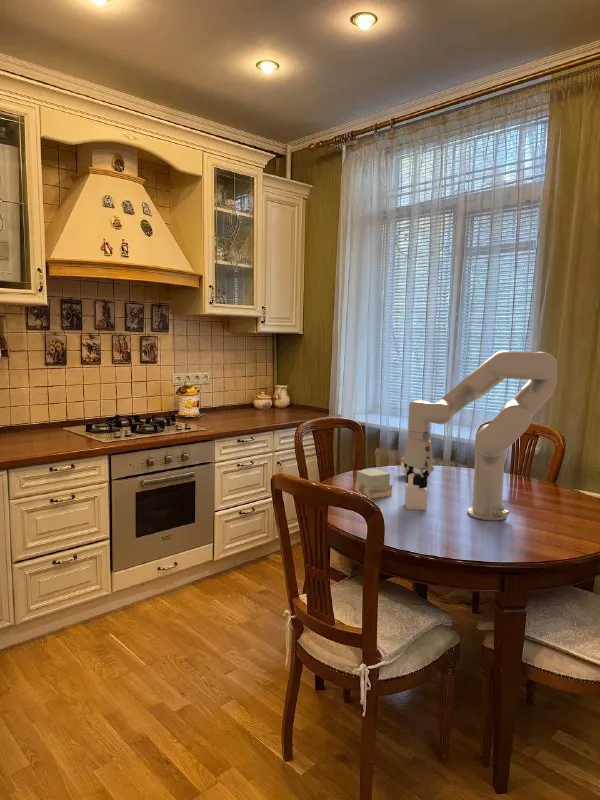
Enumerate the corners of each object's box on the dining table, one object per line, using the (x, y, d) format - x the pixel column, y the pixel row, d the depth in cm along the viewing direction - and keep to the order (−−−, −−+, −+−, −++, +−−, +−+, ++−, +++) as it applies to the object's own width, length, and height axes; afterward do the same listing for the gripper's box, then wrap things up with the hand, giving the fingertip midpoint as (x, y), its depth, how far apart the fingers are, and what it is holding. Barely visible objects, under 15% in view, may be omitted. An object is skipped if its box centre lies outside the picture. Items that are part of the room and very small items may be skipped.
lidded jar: (409, 472, 250) (409, 451, 249) (429, 476, 242) (431, 455, 241) (395, 476, 242) (396, 455, 241) (416, 481, 235) (417, 459, 234)
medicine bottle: (424, 504, 202) (425, 472, 201) (426, 510, 195) (428, 477, 194) (404, 503, 203) (405, 471, 202) (406, 509, 196) (407, 476, 194)
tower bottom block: (391, 496, 213) (392, 485, 212) (370, 500, 208) (370, 488, 207) (375, 490, 221) (376, 479, 221) (355, 493, 216) (355, 481, 216)
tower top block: (389, 485, 212) (389, 473, 212) (370, 488, 208) (371, 476, 207) (374, 479, 220) (375, 468, 219) (356, 482, 215) (356, 470, 215)
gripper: (444, 439, 190) (441, 490, 193) (410, 430, 205) (408, 478, 207) (427, 440, 187) (425, 492, 189) (394, 432, 202) (392, 480, 204)
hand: (416, 484), depth 198 cm, fingers closed on medicine bottle, 6 cm apart
